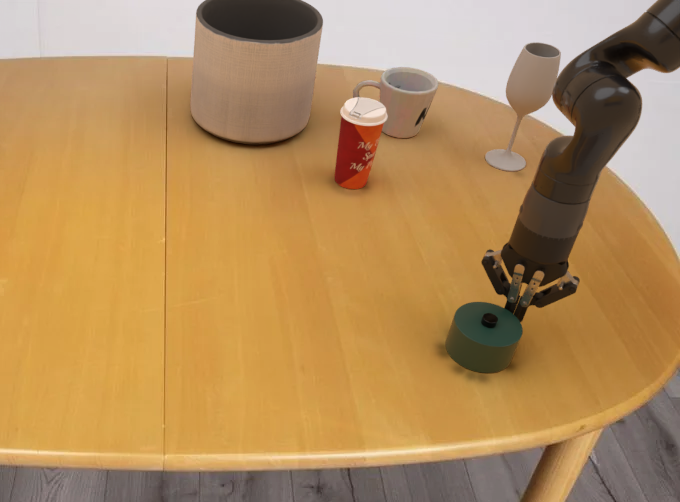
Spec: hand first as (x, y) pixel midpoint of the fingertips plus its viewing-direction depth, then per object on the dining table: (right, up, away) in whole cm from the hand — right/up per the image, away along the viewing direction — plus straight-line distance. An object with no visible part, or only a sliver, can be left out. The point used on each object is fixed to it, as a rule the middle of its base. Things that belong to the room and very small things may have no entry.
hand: (510, 320), depth 122 cm
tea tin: (-5, -4, -1) cm, 6 cm away
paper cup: (-17, +25, +30) cm, 42 cm away
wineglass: (+13, +29, +37) cm, 49 cm away
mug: (-7, +37, +44) cm, 58 cm away
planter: (-33, +39, +44) cm, 68 cm away
